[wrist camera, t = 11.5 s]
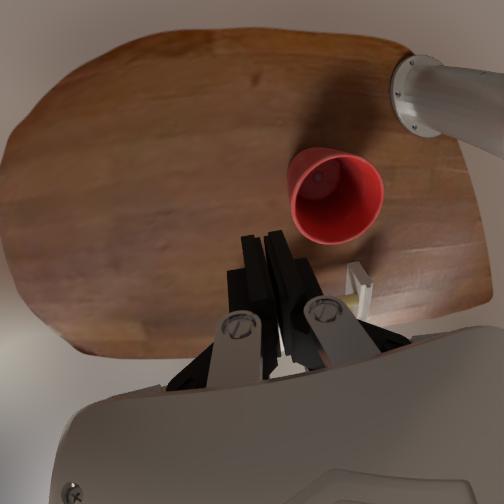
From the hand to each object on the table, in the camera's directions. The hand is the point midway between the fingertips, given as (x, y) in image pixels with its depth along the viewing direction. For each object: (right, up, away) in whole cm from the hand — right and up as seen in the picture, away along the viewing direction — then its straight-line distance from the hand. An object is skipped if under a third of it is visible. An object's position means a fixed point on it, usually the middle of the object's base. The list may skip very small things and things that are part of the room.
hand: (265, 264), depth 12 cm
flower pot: (+8, +11, +26) cm, 30 cm away
